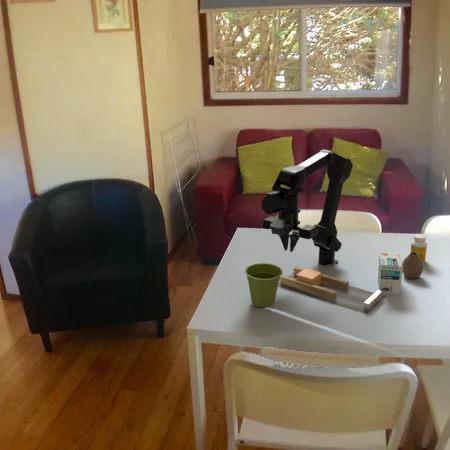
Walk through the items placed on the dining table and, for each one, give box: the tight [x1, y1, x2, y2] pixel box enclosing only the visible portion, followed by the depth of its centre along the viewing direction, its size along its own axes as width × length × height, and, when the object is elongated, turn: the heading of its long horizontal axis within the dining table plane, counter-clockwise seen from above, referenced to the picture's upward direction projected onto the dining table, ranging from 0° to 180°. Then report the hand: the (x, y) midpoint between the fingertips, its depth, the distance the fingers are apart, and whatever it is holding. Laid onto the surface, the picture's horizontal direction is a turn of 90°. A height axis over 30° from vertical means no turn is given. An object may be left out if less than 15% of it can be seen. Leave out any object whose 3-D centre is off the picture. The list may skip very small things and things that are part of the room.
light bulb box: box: [377, 252, 403, 295], centre depth 176 cm, size 11×7×11 cm, turn 168°
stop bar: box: [364, 289, 383, 311], centre depth 166 cm, size 10×2×2 cm, turn 142°
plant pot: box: [244, 262, 283, 309], centre depth 169 cm, size 12×12×11 cm
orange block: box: [296, 268, 322, 286], centre depth 179 cm, size 6×6×4 cm
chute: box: [278, 266, 386, 315], centre depth 175 cm, size 14×33×3 cm, turn 52°
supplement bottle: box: [409, 233, 428, 264], centre depth 196 cm, size 5×5×10 cm
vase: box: [401, 252, 424, 280], centre depth 184 cm, size 7×7×9 cm
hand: (288, 251), depth 181 cm, fingers closed
